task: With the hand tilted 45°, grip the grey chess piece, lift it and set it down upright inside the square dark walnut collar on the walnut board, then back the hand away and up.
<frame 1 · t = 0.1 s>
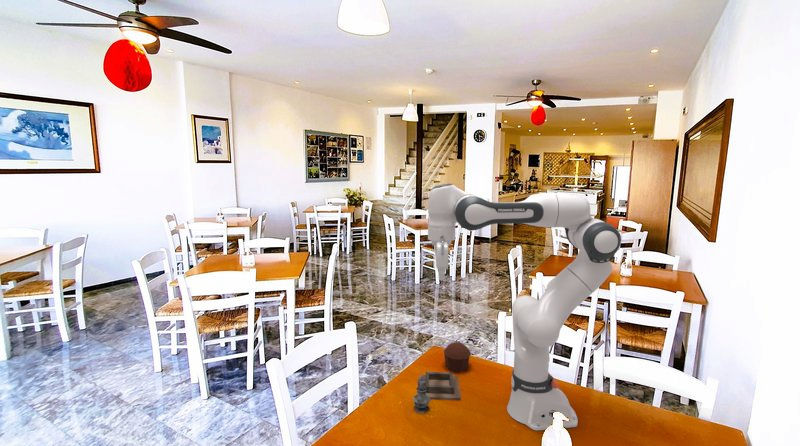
hand: (440, 275, 129), 48 cm above the table, tool pointing down, fingers open, 8 cm apart
muffin: (456, 367, 164), on the table
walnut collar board: (439, 387, 149), on the table
grey chess piece: (421, 409, 136), on the table
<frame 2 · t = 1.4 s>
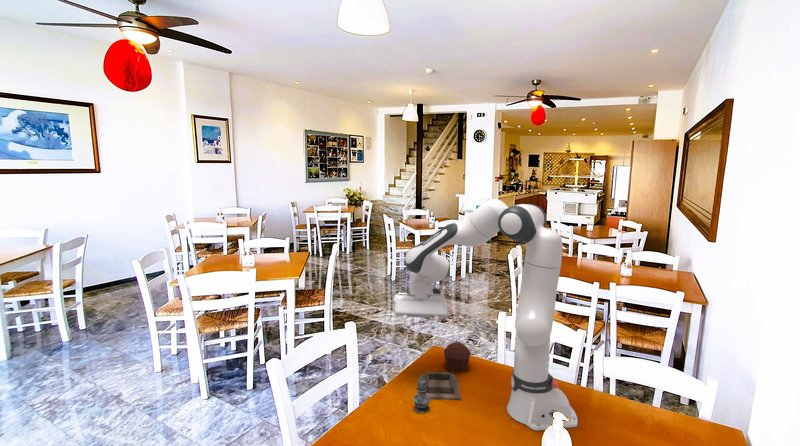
hand: (420, 327, 144), 24 cm above the table, tool tilted 45°, fingers open, 8 cm apart
nothing on the table moved.
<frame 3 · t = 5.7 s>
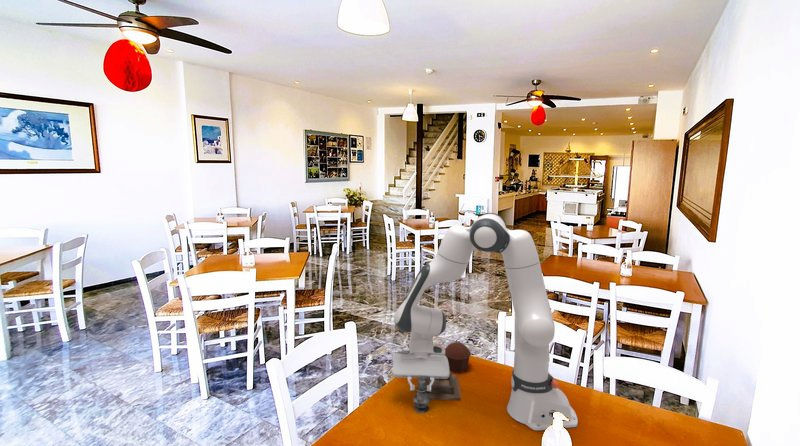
hand: (420, 391, 135), 7 cm above the table, tool tilted 45°, fingers open, 4 cm apart
grey chess piece: (421, 408, 136), on the table, touching gripper
everything else where it was.
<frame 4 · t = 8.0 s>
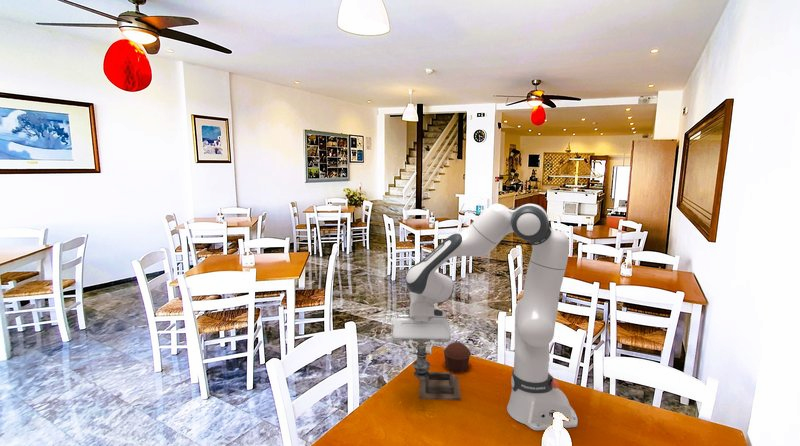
hand: (421, 353, 132), 21 cm above the table, tool tilted 45°, fingers closed on grey chess piece, 4 cm apart
grey chess piece: (421, 374, 134), point 13 cm above the table, touching gripper
everything else where it was.
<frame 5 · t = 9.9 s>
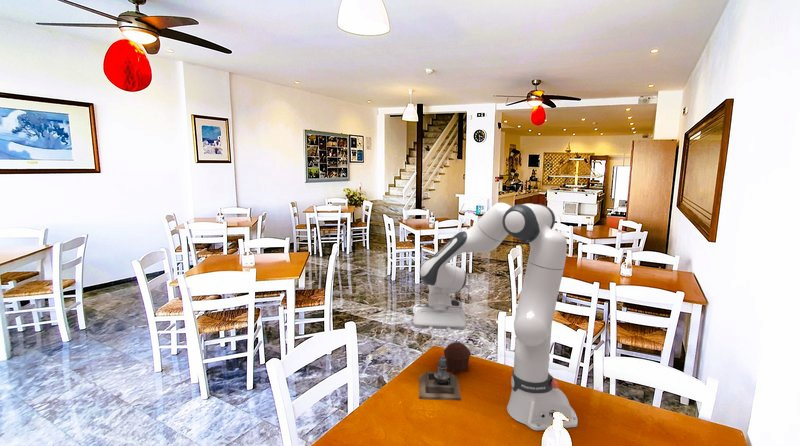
hand: (439, 339, 145), 20 cm above the table, tool tilted 45°, fingers open, 3 cm apart
grey chess piece: (441, 384, 150), point 1 cm above the table, touching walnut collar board
everything else where it was.
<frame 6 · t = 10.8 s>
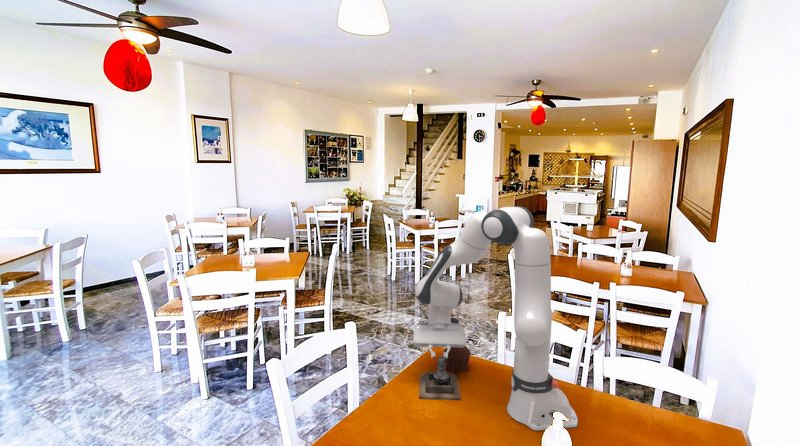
hand: (439, 357, 146), 13 cm above the table, tool tilted 45°, fingers open, 3 cm apart
grey chess piece: (441, 384, 150), point 1 cm above the table, touching gripper, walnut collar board
everything else where it was.
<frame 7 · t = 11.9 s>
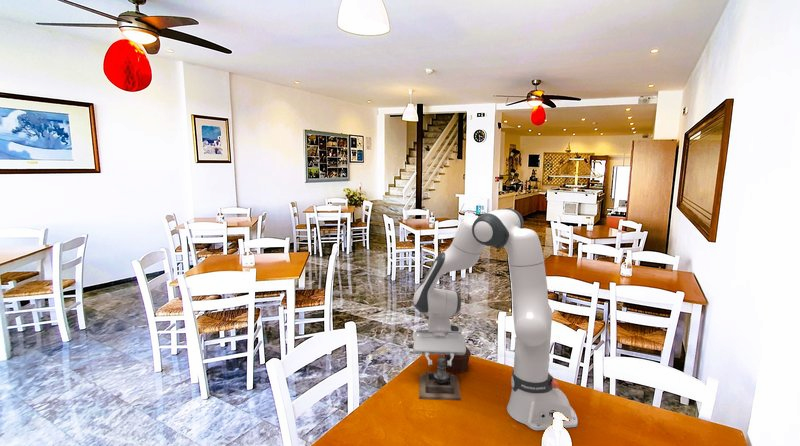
hand: (439, 365, 147), 9 cm above the table, tool tilted 45°, fingers open, 6 cm apart
grey chess piece: (441, 384, 150), point 1 cm above the table, touching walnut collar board
everything else where it was.
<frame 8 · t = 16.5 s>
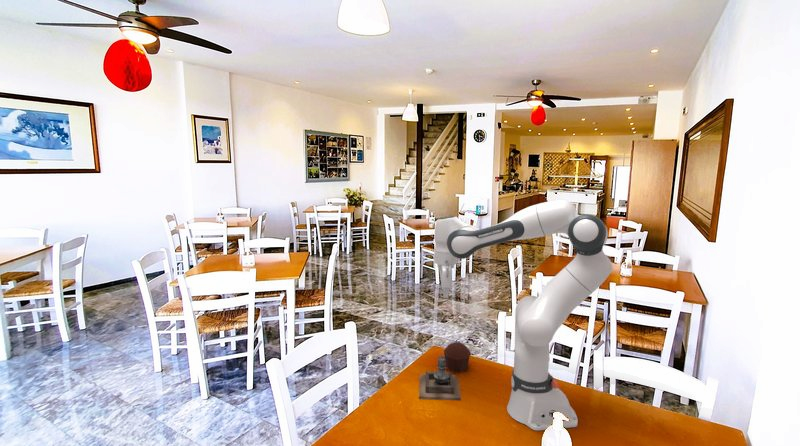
hand: (445, 293, 150), 35 cm above the table, tool pointing down, fingers open, 8 cm apart
nothing on the table moved.
at the end: grey chess piece 1.4 cm off-centre on the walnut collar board, point 0.8 cm above the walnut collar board's base; grey chess piece tilted 0°; the gripper is holding nothing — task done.
